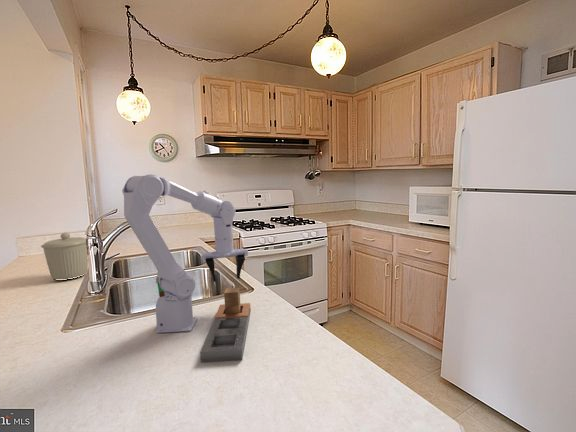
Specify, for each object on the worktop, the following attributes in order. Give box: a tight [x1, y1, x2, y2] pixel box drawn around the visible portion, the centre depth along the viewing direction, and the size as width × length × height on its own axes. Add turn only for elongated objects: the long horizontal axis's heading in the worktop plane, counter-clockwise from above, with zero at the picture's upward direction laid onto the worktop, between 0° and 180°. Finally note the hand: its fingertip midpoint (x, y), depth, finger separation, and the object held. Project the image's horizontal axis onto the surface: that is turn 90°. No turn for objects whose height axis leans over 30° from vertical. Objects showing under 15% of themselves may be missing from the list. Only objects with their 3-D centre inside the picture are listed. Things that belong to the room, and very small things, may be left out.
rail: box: [199, 302, 252, 363], centre depth 84 cm, size 9×27×3 cm, turn 3°
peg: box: [223, 287, 241, 314], centre depth 92 cm, size 4×4×9 cm
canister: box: [40, 232, 89, 280], centre depth 142 cm, size 18×18×21 cm
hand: (226, 279), depth 101 cm, fingers open, 7 cm apart
